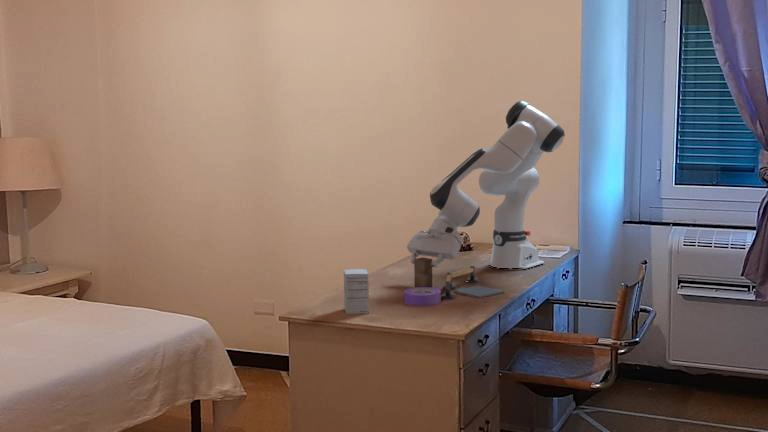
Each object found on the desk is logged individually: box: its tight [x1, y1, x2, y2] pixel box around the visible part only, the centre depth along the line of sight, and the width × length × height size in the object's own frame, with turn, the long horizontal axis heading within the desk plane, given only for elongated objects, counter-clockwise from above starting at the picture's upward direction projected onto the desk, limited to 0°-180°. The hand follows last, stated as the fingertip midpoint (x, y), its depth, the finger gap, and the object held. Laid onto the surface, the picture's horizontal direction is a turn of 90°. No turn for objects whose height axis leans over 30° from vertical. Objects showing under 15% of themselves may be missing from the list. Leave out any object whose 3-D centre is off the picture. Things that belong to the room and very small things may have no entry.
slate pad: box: [453, 285, 505, 299], centre depth 305 cm, size 12×12×1 cm
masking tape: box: [403, 286, 442, 307], centre depth 292 cm, size 12×12×4 cm
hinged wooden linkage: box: [441, 265, 479, 300], centre depth 310 cm, size 32×8×6 cm, turn 158°
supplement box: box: [343, 268, 370, 315], centre depth 279 cm, size 7×7×13 cm
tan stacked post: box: [413, 256, 433, 288], centre depth 314 cm, size 4×4×10 cm
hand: (423, 264), depth 313 cm, fingers open, 8 cm apart
